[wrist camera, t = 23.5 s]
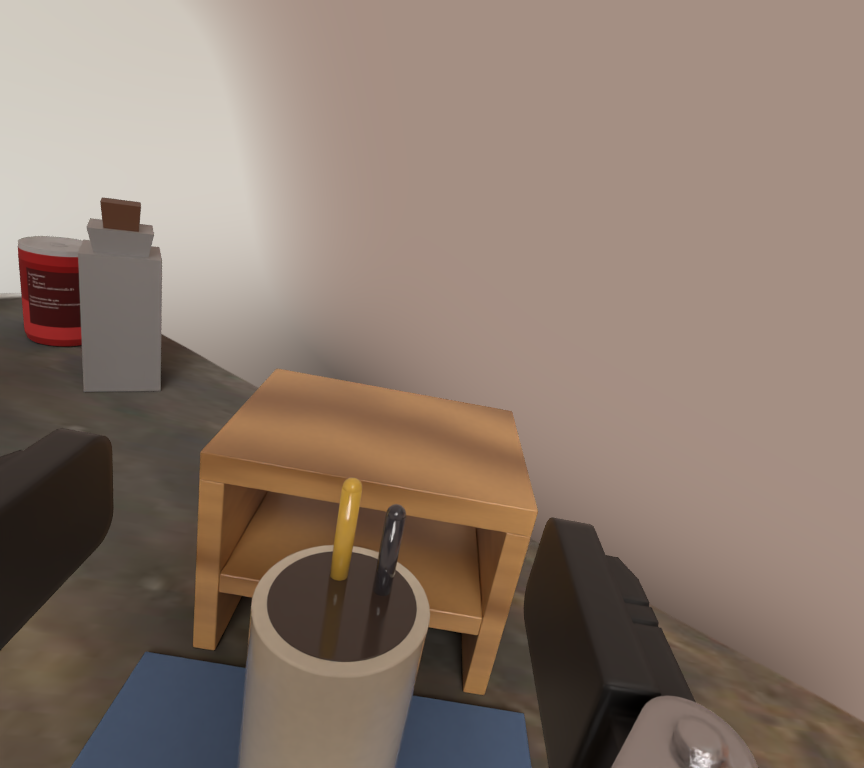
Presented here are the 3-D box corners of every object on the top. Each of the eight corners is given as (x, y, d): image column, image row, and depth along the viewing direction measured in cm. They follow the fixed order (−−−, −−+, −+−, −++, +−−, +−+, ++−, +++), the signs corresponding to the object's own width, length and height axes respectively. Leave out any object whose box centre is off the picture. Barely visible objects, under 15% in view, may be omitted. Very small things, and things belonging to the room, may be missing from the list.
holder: (335, 933, 20) (406, 595, 14) (197, 840, 21) (215, 510, 16) (407, 776, 25) (477, 491, 20) (293, 713, 27) (329, 436, 22)
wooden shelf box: (484, 695, 30) (538, 511, 26) (192, 647, 30) (199, 451, 26) (475, 555, 42) (512, 411, 37) (263, 518, 41) (276, 368, 37)
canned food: (80, 323, 71) (77, 236, 67) (115, 341, 67) (113, 251, 64) (11, 330, 65) (2, 235, 61) (45, 351, 61) (38, 251, 57)
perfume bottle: (160, 390, 57) (162, 212, 51) (83, 391, 54) (75, 201, 48) (158, 367, 63) (159, 202, 57) (88, 366, 60) (81, 192, 53)
